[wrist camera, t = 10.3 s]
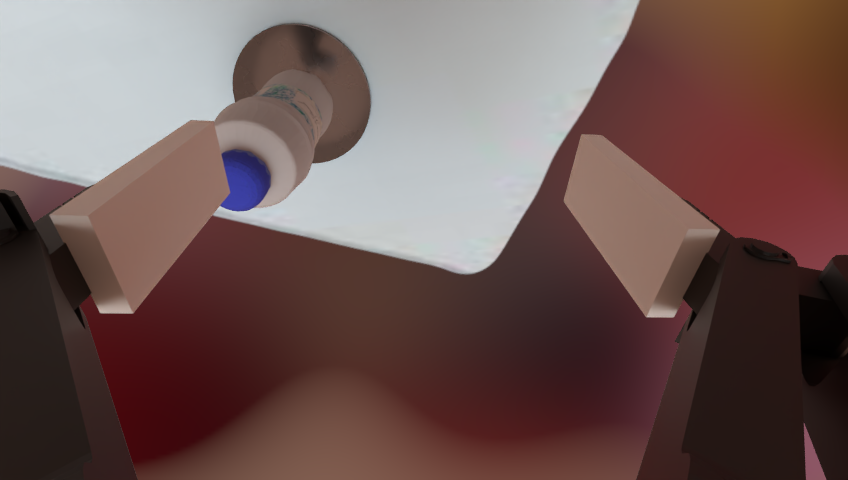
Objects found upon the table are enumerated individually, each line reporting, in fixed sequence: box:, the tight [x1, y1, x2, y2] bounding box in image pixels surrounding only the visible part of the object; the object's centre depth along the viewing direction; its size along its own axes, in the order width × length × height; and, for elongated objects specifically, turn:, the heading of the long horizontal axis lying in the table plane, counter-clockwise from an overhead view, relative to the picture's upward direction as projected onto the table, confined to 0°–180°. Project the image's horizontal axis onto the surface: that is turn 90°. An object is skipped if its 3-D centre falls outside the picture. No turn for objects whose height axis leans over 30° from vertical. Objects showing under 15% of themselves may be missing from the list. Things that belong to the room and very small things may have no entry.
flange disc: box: [233, 24, 371, 163], centre depth 39 cm, size 13×13×1 cm
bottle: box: [214, 69, 333, 211], centre depth 31 cm, size 7×7×20 cm
